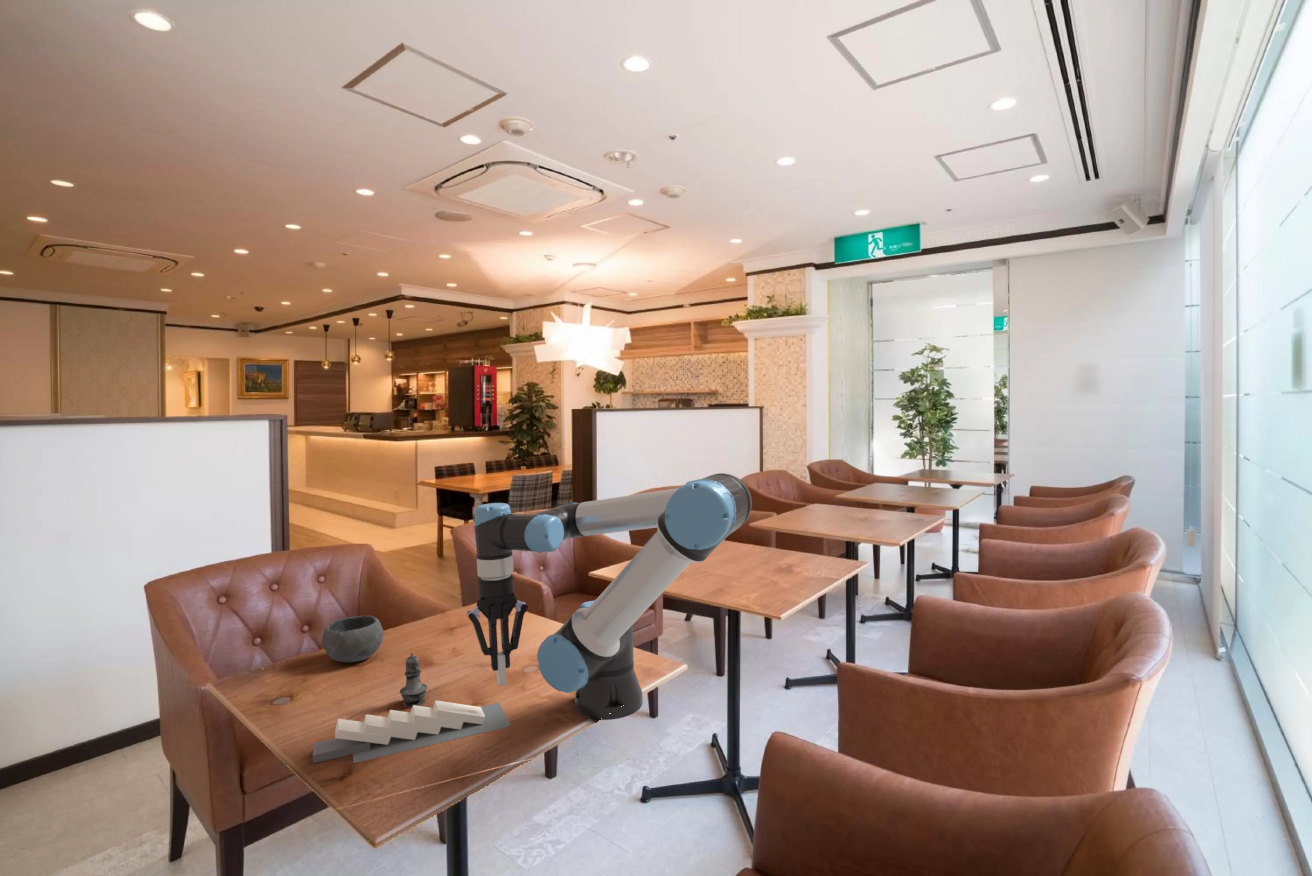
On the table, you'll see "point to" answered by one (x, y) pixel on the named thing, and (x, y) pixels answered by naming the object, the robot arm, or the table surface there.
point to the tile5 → (357, 732)
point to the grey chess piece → (413, 683)
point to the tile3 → (408, 723)
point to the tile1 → (458, 712)
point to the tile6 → (337, 749)
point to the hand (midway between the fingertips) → (501, 683)
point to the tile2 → (431, 718)
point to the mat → (492, 721)
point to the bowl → (352, 638)
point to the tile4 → (384, 728)
